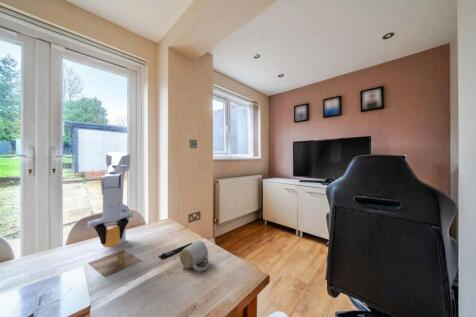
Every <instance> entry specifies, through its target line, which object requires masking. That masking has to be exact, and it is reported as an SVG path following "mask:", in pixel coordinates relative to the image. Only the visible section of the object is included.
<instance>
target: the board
mask: <svg viewBox="0 0 476 317" xmlns="http://www.w3.org/2000/svg"><path fill="white" fill-rule="evenodd" d="M140 262H143V260H142V259H141V258H139V257H137V256H135V255H133V254H131V253H130V252H128V251H126V250H124V249H121V250H118V251H116V252H113V253H110V254H108V255H105V256H103V257H100V258H98V259H95V260H92V261H89V262H88V263H87V264H88V265H89V266H90V267H92V268H93V269H94V270H96V272H98V273H99V274H100V275H101V276H103V277H104V278H105V279H106V278H108V277H110V276H113V275H114V274H117V273H119V272H121V271H123V270H125V269H128V268H129V267H131V266H134V265H136V264H139V263H140Z"/></svg>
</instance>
